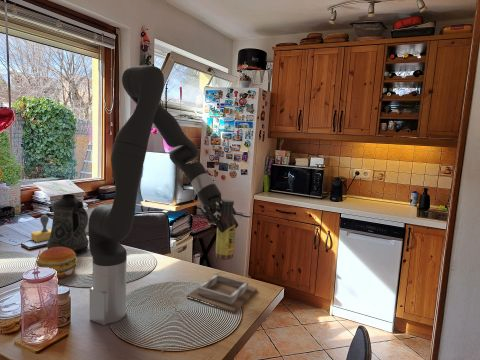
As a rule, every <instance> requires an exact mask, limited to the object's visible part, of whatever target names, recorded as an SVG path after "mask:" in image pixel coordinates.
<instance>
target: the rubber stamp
mask: <svg viewBox="0 0 480 360" xmlns="http://www.w3.org/2000/svg"><path fill="white" fill-rule="evenodd" d="M49 220H50V219H49V215H47V214H42V215H41V216H40V219H39V221H40V223H41V225H42V230H37V231H32V232H30V233H31V234H30V235H31V236H30V237H31V238H30V239H32V240H31V241H33V240H34V241H33V242H35V241H36V242H35V243H40V241H41V242H44V241H49V238H50V235H51V229H52V227H51V228H47V226H48V223H49Z"/></svg>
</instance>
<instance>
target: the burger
mask: <svg viewBox="0 0 480 360" xmlns="http://www.w3.org/2000/svg"><path fill="white" fill-rule="evenodd" d="M76 255H77V254H75V252H74V251H73V250H72V249H69V248H67V247H53V248H49V249H48V248H47V249H45V250H43V251H42V252H41V253H40V254H39V255H38V257H39V259H38V257H37V259H38V261H37V259H36V267H37V266H39V267H49V268H53V269H55V270H56V271H57V277H58V278H57V279H61V278H65V277H68V276H69V275H71V274H73V273H74V272H75V270H76V268H77V263H78V259H77V256H76Z"/></svg>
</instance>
